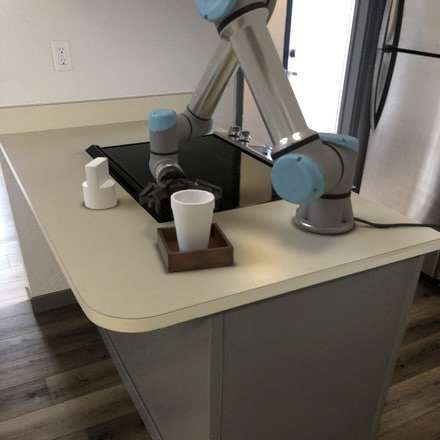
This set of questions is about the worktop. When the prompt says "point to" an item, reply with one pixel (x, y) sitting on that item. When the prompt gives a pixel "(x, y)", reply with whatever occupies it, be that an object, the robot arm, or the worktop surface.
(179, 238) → the foam cup
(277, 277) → the worktop surface
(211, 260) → the caddy
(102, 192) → the base with upright slab
